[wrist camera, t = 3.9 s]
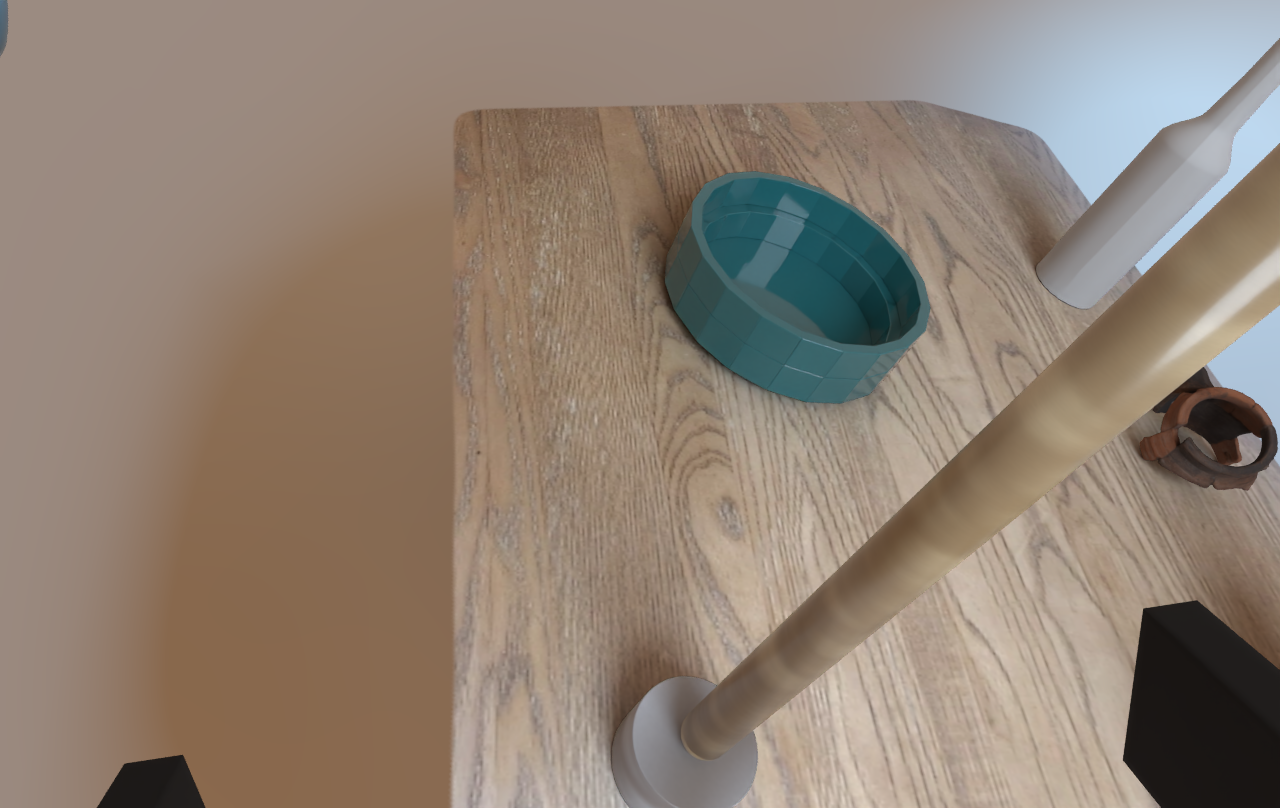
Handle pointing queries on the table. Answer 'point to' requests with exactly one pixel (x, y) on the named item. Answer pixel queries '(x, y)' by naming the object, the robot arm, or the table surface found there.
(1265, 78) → the bottle
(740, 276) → the bowl
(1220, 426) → the pottery mug
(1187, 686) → the robot arm
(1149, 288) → the wooden rounded dowel
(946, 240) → the table surface
